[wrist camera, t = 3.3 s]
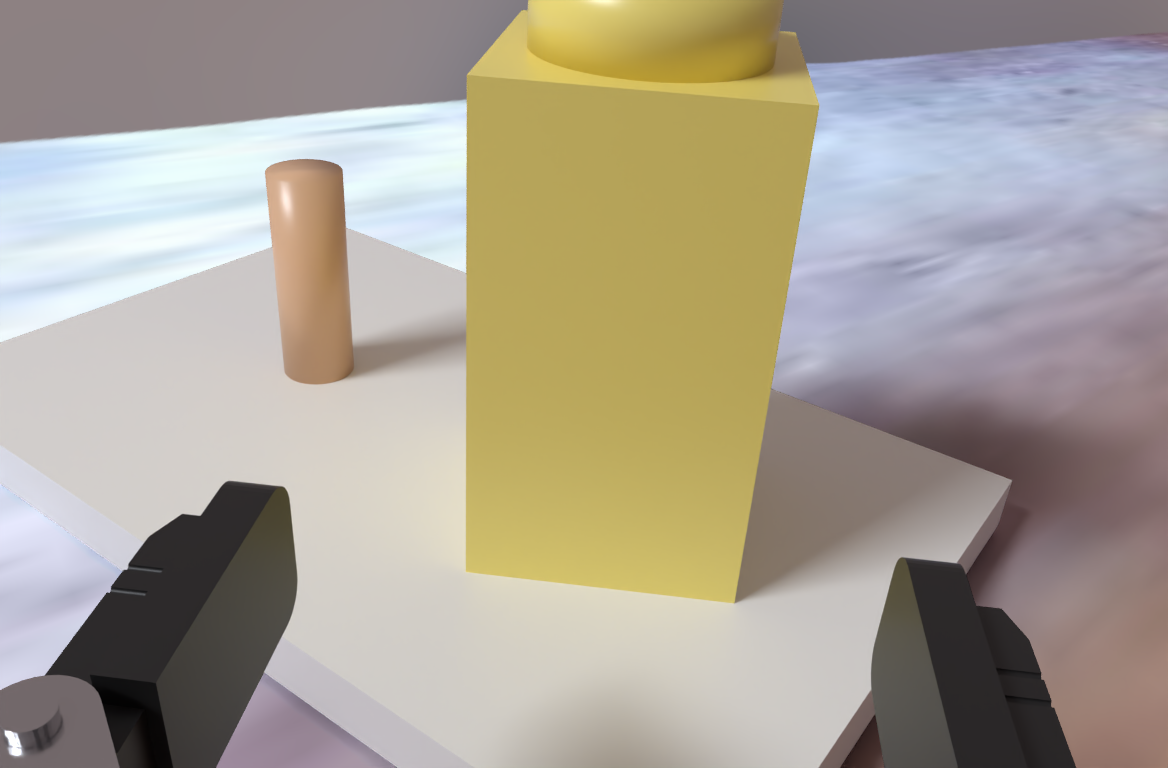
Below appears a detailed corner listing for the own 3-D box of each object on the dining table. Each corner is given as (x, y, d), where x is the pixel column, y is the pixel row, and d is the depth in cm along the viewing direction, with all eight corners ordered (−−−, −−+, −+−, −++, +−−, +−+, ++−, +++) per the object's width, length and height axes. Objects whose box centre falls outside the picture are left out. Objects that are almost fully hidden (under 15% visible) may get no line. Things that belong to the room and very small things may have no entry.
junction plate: (339, 260, 41) (327, 66, 38) (998, 525, 29) (1078, 273, 25) (-86, 422, 30) (-164, 168, 26) (699, 982, 17) (765, 645, 14)
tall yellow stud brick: (510, 429, 29) (524, -69, 22) (730, 453, 28) (807, -47, 22) (465, 571, 24) (467, -24, 17) (733, 603, 23) (836, 5, 17)
